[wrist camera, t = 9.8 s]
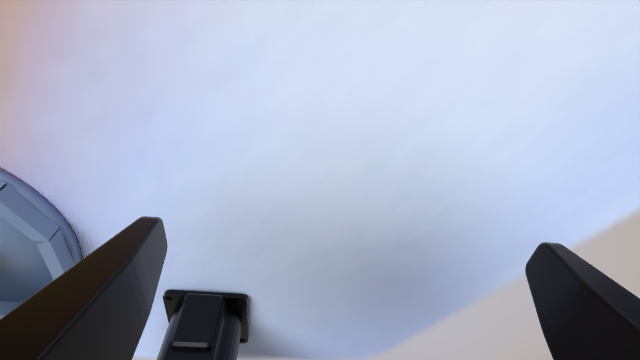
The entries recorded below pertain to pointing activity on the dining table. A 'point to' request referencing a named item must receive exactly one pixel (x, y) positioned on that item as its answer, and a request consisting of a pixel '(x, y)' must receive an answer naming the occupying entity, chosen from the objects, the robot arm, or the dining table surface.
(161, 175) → the dining table surface
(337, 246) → the dining table surface
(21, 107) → the dining table surface
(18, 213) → the light blue round dish
